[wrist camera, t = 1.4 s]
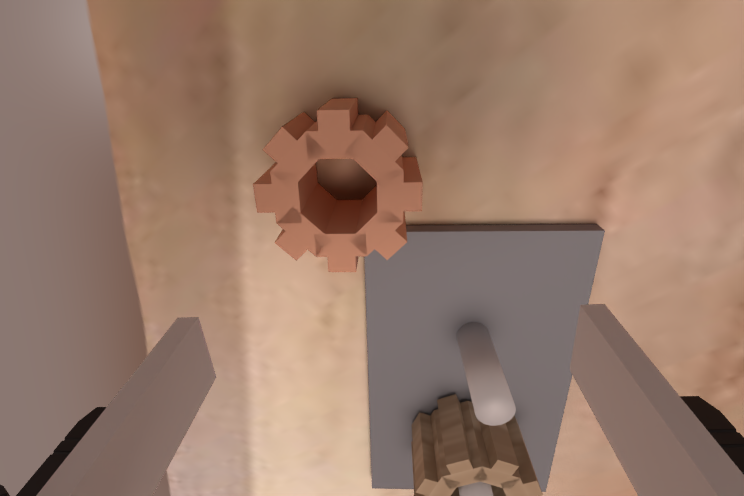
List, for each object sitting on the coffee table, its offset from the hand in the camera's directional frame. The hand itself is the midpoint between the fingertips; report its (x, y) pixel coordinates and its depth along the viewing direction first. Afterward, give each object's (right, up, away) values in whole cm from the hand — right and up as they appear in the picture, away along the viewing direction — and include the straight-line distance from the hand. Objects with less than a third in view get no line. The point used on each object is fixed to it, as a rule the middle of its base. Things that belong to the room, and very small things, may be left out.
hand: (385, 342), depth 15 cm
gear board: (+7, -7, +20) cm, 22 cm away
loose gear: (-2, +9, +13) cm, 16 cm away
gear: (+7, -13, +21) cm, 25 cm away
